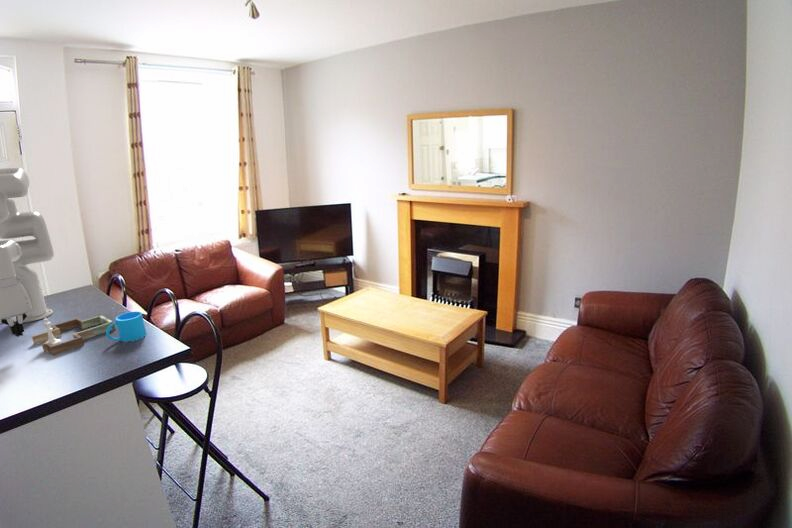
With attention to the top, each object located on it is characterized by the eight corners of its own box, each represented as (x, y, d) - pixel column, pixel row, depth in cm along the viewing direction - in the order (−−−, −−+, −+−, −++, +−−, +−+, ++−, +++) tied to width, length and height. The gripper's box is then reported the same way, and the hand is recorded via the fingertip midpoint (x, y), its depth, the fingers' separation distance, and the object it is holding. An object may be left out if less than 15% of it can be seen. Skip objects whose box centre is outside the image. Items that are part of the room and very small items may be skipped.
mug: (141, 330, 164) (137, 309, 162) (149, 336, 159) (145, 315, 156) (105, 341, 156) (99, 320, 153) (112, 348, 150) (107, 326, 148)
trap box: (29, 340, 159) (27, 332, 158) (97, 319, 176) (96, 312, 175) (49, 356, 146) (47, 348, 145) (121, 332, 163) (119, 324, 162)
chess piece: (52, 347, 153) (44, 321, 150) (40, 346, 154) (32, 320, 151) (65, 341, 157) (57, 315, 154) (53, 340, 158) (46, 314, 155)
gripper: (28, 275, 150) (42, 325, 155) (-31, 287, 139) (-13, 341, 144) (34, 278, 145) (49, 329, 150) (-26, 291, 134) (-8, 346, 139)
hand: (18, 335), depth 147 cm, fingers closed
